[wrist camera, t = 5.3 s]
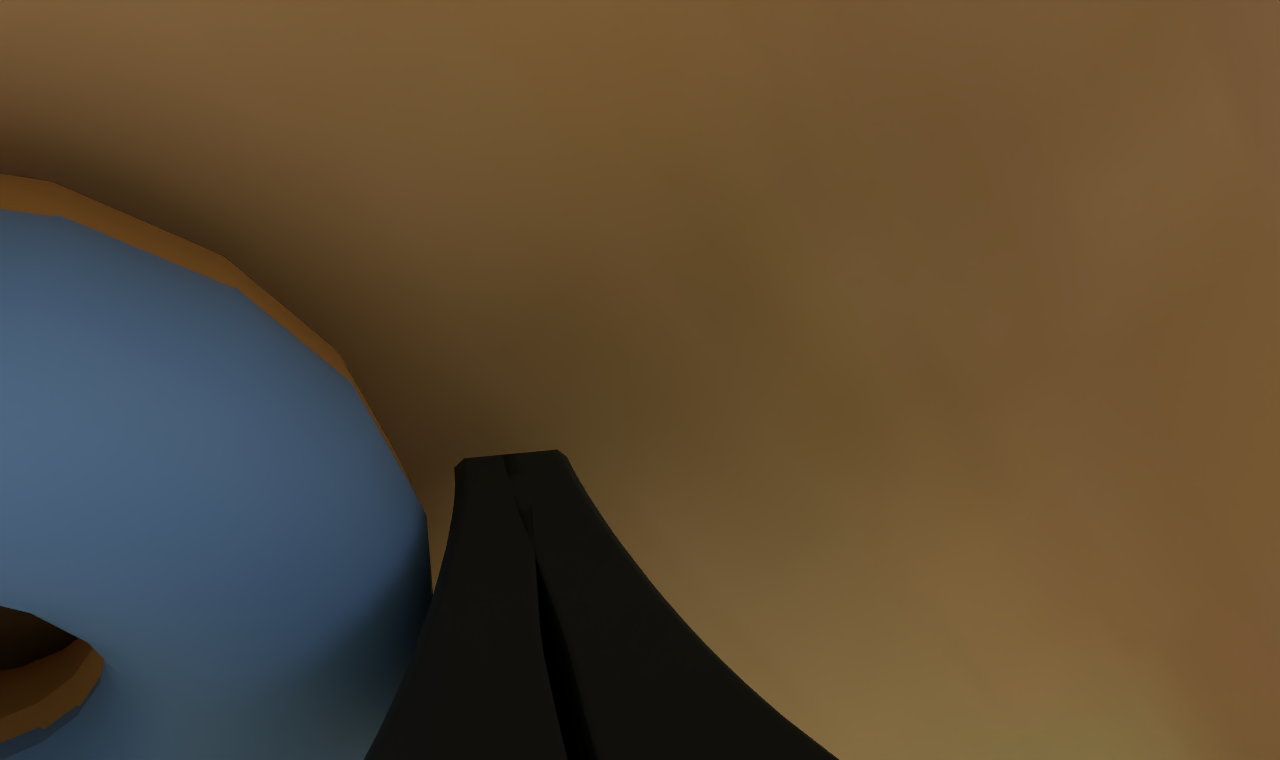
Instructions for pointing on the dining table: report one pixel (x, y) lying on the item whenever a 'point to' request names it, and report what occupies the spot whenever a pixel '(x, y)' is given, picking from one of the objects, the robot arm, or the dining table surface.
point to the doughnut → (188, 505)
